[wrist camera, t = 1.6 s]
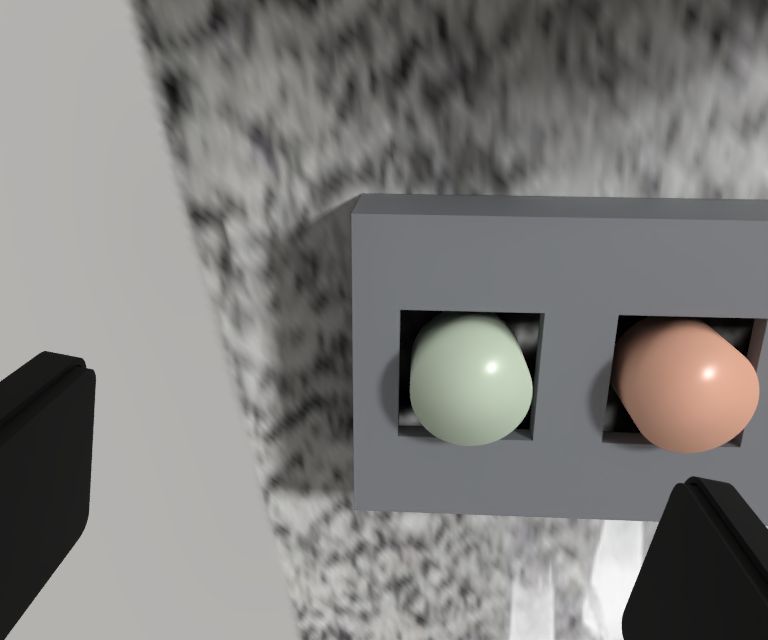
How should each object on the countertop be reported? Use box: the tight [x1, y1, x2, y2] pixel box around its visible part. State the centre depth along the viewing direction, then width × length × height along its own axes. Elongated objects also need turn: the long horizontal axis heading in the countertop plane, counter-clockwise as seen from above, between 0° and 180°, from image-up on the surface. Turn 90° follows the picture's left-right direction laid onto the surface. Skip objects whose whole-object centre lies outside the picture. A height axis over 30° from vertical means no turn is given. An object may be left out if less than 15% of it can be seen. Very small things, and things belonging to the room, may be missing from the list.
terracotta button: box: [610, 316, 759, 453], centre depth 29 cm, size 5×5×4 cm
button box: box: [351, 193, 768, 526], centre depth 31 cm, size 28×14×5 cm, turn 90°
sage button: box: [410, 311, 533, 446], centre depth 29 cm, size 5×5×4 cm
